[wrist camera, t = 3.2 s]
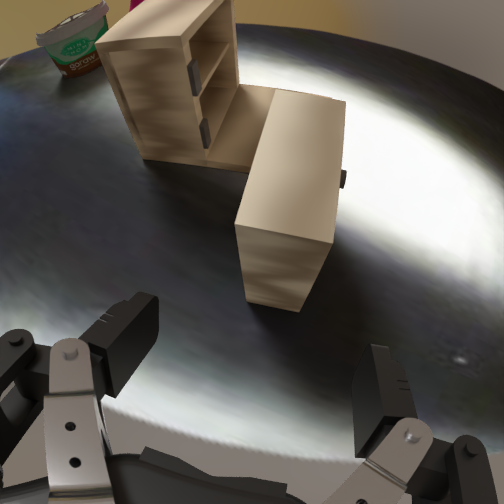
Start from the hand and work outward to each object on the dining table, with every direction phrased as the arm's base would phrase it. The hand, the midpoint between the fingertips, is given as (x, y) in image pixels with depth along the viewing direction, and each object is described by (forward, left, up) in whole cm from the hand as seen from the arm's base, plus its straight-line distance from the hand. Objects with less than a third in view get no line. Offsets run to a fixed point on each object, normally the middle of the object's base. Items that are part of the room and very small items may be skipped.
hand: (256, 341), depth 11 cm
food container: (-34, +34, -12) cm, 50 cm away
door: (0, +9, -12) cm, 15 cm away
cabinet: (-7, +22, -11) cm, 26 cm away
